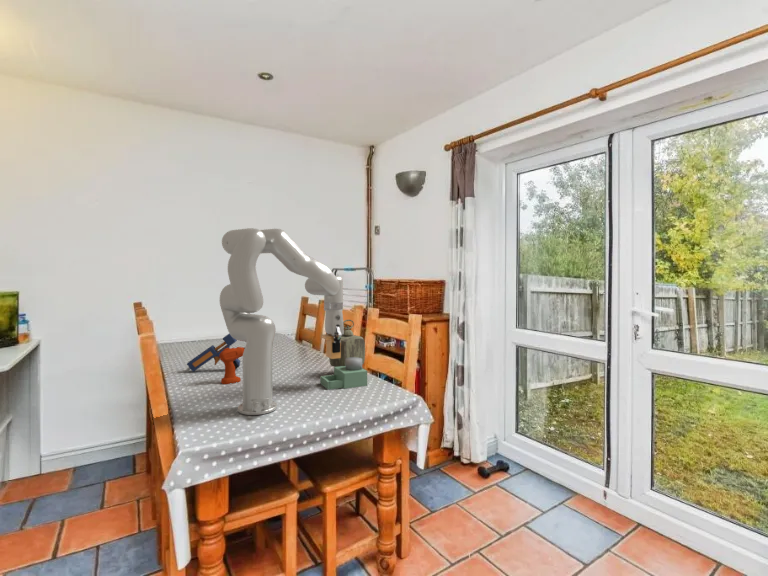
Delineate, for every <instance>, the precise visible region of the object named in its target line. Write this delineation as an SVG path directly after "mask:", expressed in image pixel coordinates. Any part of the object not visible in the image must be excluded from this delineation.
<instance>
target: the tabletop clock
mask: <svg viewBox="0 0 768 576" xmlns="http://www.w3.org/2000/svg"><path fill="white" fill-rule="evenodd" d="M346 322H351V323H352V325H351V326H349V325H346V327H344V334H343V335H342V336H341V358H336V359H331V358H329V357H328V358H329V364H330V366H331V367H333V368H334V367H339V366H345V360H346V358H351V357H357V358H362V365H364V364H365V360H366V343H365V339H364V337H363V336H360V335H354V332H353V330H352V329H353V327H354V326H355V322H354V321H353V320H352V319H345V320H343V324H344V323H346ZM332 375H334V372H333V373H332Z"/></svg>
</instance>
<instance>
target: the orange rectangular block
mask: <svg viewBox="0 0 768 576" xmlns="http://www.w3.org/2000/svg"><path fill="white" fill-rule="evenodd" d="M334 335H337V334H334ZM321 338H322V339H324V340H326V342H325V345H326V348H325V350H326V352H325V353H326V355H325V356H326V357H327V358H331V359H336V358H341V342H340V352H339V353H333V352H332V343H333V336H332V335H330V334H327V333H326V334H325V333H324V334H323V333H322V334H321ZM335 338H336V337H335ZM340 340H341V339H340Z"/></svg>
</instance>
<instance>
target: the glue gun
mask: <svg viewBox="0 0 768 576" xmlns="http://www.w3.org/2000/svg"><path fill="white" fill-rule="evenodd" d="M222 340H223V342H222V343H220V344H219V345H217V346H215V345H211V346H209V347H207V349H205V350H204V351H202V352H200V353H199V354H198V355H196V356H195V357H194V358H192V359H190V360H189V361H188V362H186V365H187V368H186V369H185V370H184V371H183V372H184V373H186V372H188V371H189V370H191V372H192V373H193V372H195V371H196V370H198V369H200V368H201V367H203V365H206V364H207V363H208V362H209V361H211V360H213V359H214V365H213V366H216V365H217V364H218V362H219V361H221V360H220V358H219V355H220V353H221V352H222V351H223V350H224V349H225V348H230V347H231V346H232V345H234V344H236V342H238V340H236V339H234V338H233V337H232V336H231V335H230V333H229V332H228V334H226V335H225V336H224V337H223V338H222ZM234 361H236V363H237V365H239V367H240V365H241V360H240V359H239V358H238V359H236V360H234Z"/></svg>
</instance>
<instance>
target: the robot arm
mask: <svg viewBox="0 0 768 576" xmlns="http://www.w3.org/2000/svg"><path fill="white" fill-rule="evenodd" d="M221 246H222V248H223V250H224V251H225V252H226V253H227V254H229V255H230V257H229V258H228V263H227V275H228V278H229V279H228V280H229V284H227V285H225V286H224V287H223V288H222V289H221V290H220V294H219V305H220V310H221V312H222V316H223V319H224V323H225V326H226V329H227V332H228V334H229V333H230V335H231V336H232V337H233V338H234V339H236V340H237V341H240V342H246V344H245V349H244V352H243V356H242V403H239V405H238V406H237V411H238V413H239V414H241V415H245V416H246V415H247V416H259V415H265V414H269V413H272V412H274V411H275V410H277V408H278V403H277V402H276V401H273V352H274V351H273V349H274V342H275V337H276V325H275V322H274V321H273V320H272V319H271V318H270V317H268V316H266V315H262V314H256V313H257V312H259V311H261V309H262V308H263V306H264V295H263V293H262V288H261V285H260V282H259V278H258V274H257V267H256V265H257V261H258V258H259V257H260V255H261V254H271V255H273V256H274V257H275V258H276V259H277V260H278V261H279V262H281V264H282V265H283V266H284V267H285V268H286V269H287V270H288V271H289V272H291V273H293V274H296V275H299V276H302V277H305V278H307V279H306V281H305V282H304V289H305V290H306V292H307V293H308V294H310V295H313V296H323V311H325V316H324V317H325V319H324V330H325V331H324V332H325V333H326V334H330V335H332V336H333V343H332V352H333V353H339V352H340V342H341V340H340V339H341V336H342V335H343V334H344V330H345V329H344V323H343V321H344V316H343V315H344V314H343V311H344V305H343V304H344V301H343V300H344V280H343V277H341V276H339V275H338V276H337V275H335V273H334V272H333V271H332V270H331V269H330V268H329V267H328V266H326V265H325V264H323V263H322V262H320V261H319V260H317V259H315V258H313V257H311V256H309V255H307V254H306V252H305V251H304V250H303V249H302V248H301V246H299V245H298V244H297V243H296V242H295V241H294V240H293V238H292V237H291V236H290V235H289V234H288V233H287V232H286V231H285V230H283V229H281V228H266V229H265V228H264V229H258V228H254V227H253V228H252V227H251V228H248V227H247V228H241V229H240V228H239V229H231V230H228V231H227V232H225V234H224V235H223V236H222V238H221ZM254 313H255V314H254ZM334 334H337V335H334ZM335 337H336V338H335Z"/></svg>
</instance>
